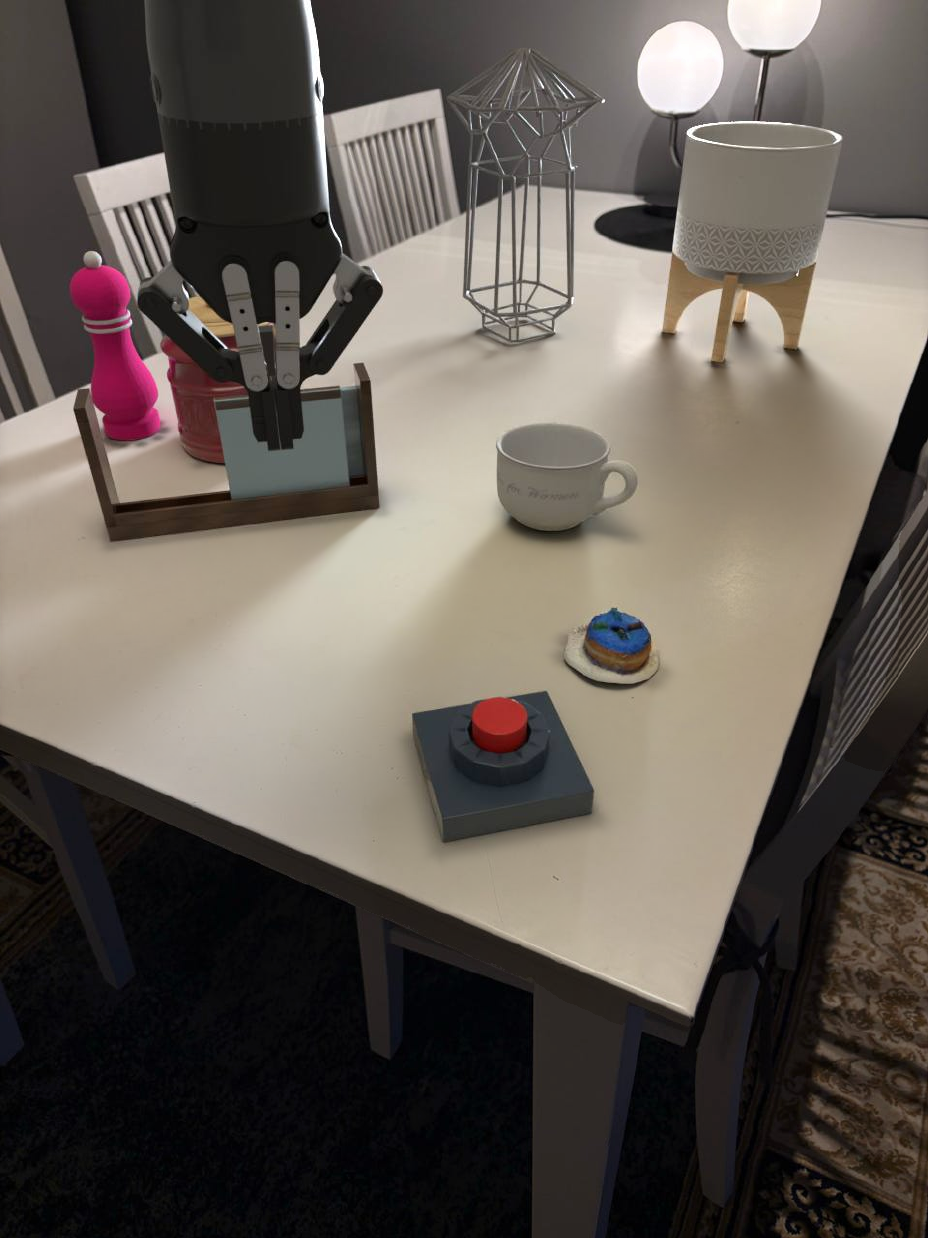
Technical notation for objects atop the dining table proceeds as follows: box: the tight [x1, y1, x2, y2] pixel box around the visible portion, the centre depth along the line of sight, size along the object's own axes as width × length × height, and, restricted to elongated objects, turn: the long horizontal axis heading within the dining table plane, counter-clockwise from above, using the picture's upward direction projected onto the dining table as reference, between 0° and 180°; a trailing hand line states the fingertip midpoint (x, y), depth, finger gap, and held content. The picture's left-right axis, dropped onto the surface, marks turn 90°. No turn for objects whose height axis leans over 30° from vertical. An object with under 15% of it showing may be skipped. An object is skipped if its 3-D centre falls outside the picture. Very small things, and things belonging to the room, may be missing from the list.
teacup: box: [495, 422, 639, 532], centre depth 87 cm, size 14×11×8 cm
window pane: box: [214, 325, 350, 500], centre depth 85 cm, size 12×2×17 cm, turn 104°
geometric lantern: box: [445, 47, 606, 343], centre depth 122 cm, size 16×16×35 cm
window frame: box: [72, 362, 381, 542], centre depth 87 cm, size 26×4×14 cm, turn 104°
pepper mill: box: [69, 250, 162, 441], centre depth 101 cm, size 7×7×20 cm
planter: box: [661, 121, 844, 363], centre depth 121 cm, size 19×19×26 cm
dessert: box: [563, 607, 660, 685], centre depth 72 cm, size 8×7×6 cm
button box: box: [411, 690, 595, 843], centre depth 61 cm, size 10×10×4 cm
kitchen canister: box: [159, 295, 272, 464], centre depth 99 cm, size 13×13×18 cm
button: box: [472, 696, 527, 754], centre depth 60 cm, size 4×4×2 cm
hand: (279, 444), depth 52 cm, fingers closed
